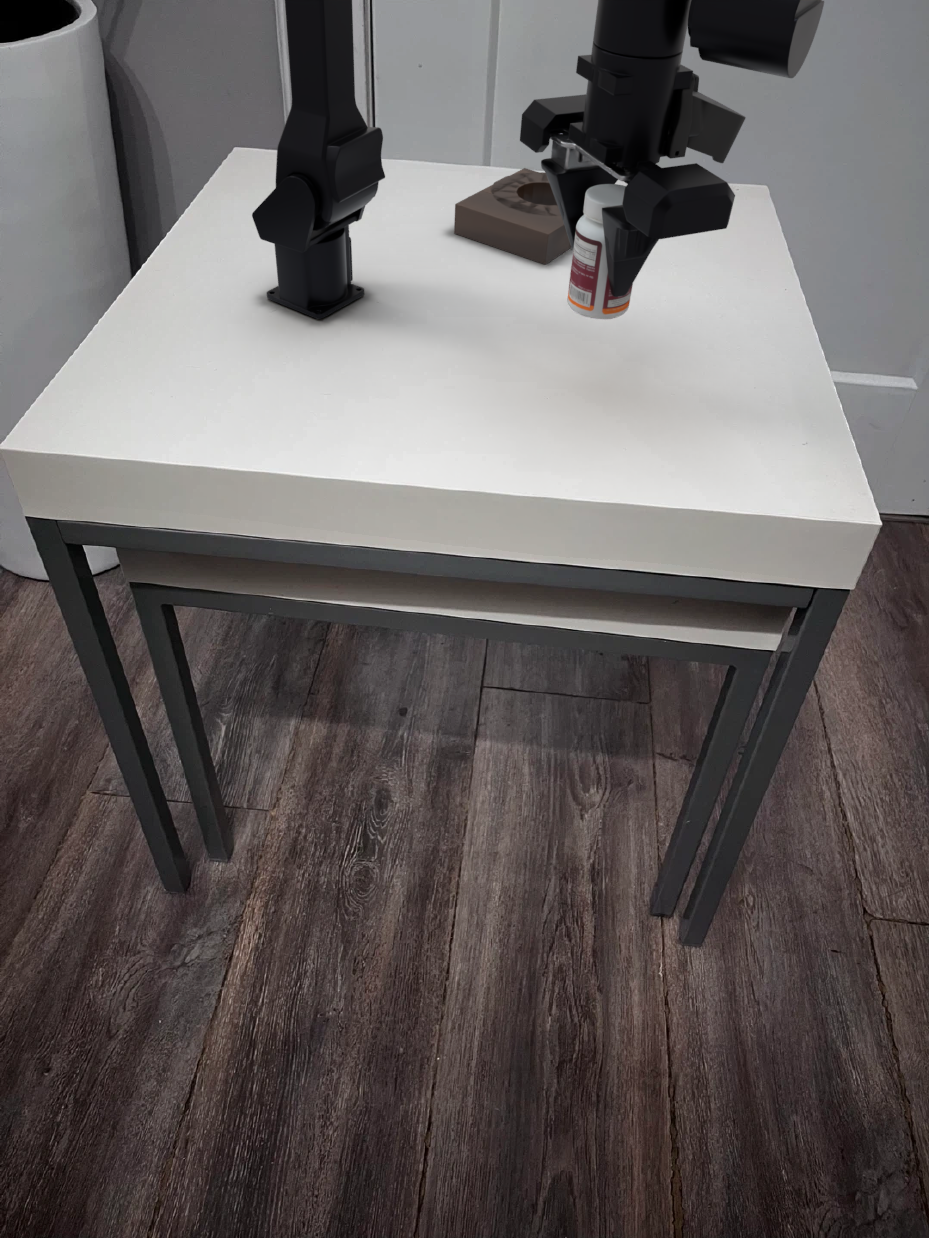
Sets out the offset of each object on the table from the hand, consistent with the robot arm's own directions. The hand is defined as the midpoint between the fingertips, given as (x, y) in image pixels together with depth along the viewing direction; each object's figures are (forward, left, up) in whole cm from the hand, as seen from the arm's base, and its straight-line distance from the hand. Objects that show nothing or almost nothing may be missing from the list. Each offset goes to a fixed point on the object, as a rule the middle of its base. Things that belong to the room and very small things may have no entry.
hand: (601, 280), depth 72 cm
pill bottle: (0, 0, -2) cm, 2 cm away
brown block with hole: (+24, +20, -9) cm, 33 cm away
